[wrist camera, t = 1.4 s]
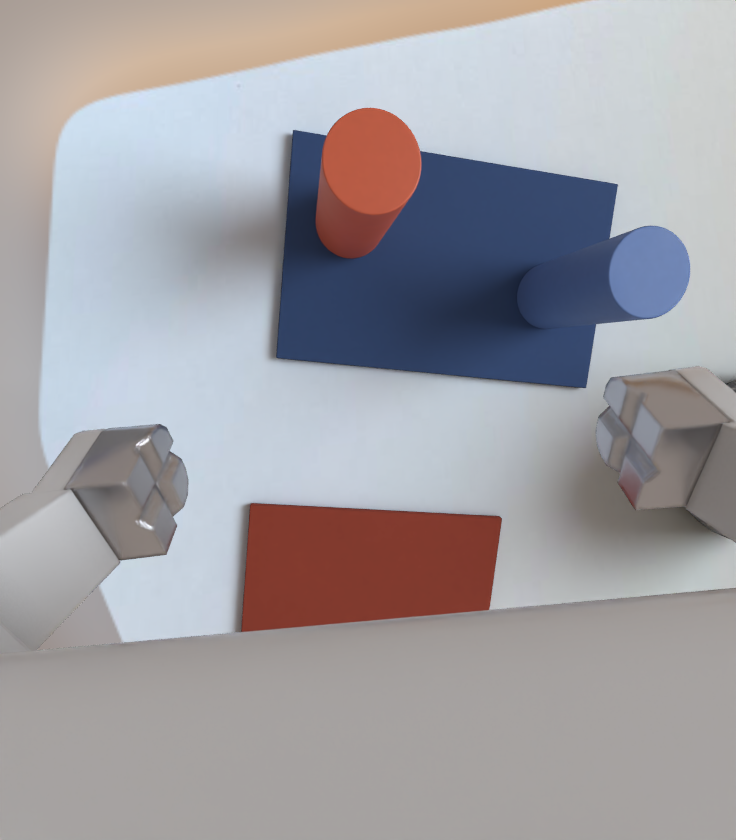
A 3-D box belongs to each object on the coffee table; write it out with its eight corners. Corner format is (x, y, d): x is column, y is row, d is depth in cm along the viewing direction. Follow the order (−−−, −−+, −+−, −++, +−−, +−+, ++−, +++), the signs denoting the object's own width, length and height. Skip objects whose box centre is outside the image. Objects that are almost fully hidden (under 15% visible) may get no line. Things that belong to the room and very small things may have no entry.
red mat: (235, 715, 35) (235, 720, 34) (250, 502, 33) (250, 505, 32) (472, 712, 37) (474, 717, 37) (499, 516, 35) (502, 518, 35)
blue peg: (512, 325, 33) (601, 313, 23) (521, 259, 32) (616, 219, 23) (571, 332, 34) (681, 323, 24) (580, 267, 33) (698, 232, 23)
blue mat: (276, 357, 32) (276, 357, 31) (293, 133, 30) (293, 129, 29) (582, 387, 35) (586, 388, 34) (613, 186, 33) (618, 183, 33)
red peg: (312, 254, 31) (317, 207, 21) (318, 181, 30) (326, 98, 20) (380, 262, 31) (416, 221, 21) (387, 192, 31) (427, 116, 21)
